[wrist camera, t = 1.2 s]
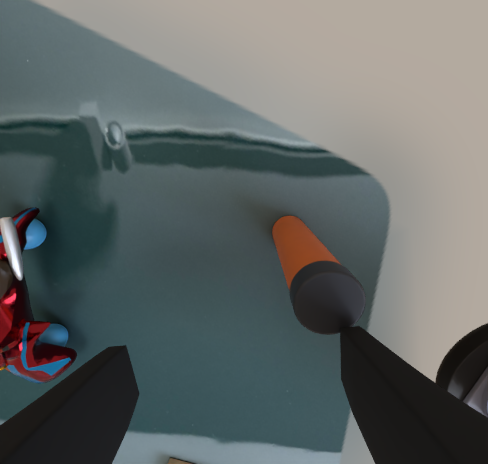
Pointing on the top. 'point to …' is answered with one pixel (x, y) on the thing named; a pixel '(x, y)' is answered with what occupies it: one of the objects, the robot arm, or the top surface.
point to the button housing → (176, 461)
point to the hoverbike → (26, 308)
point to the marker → (316, 280)
